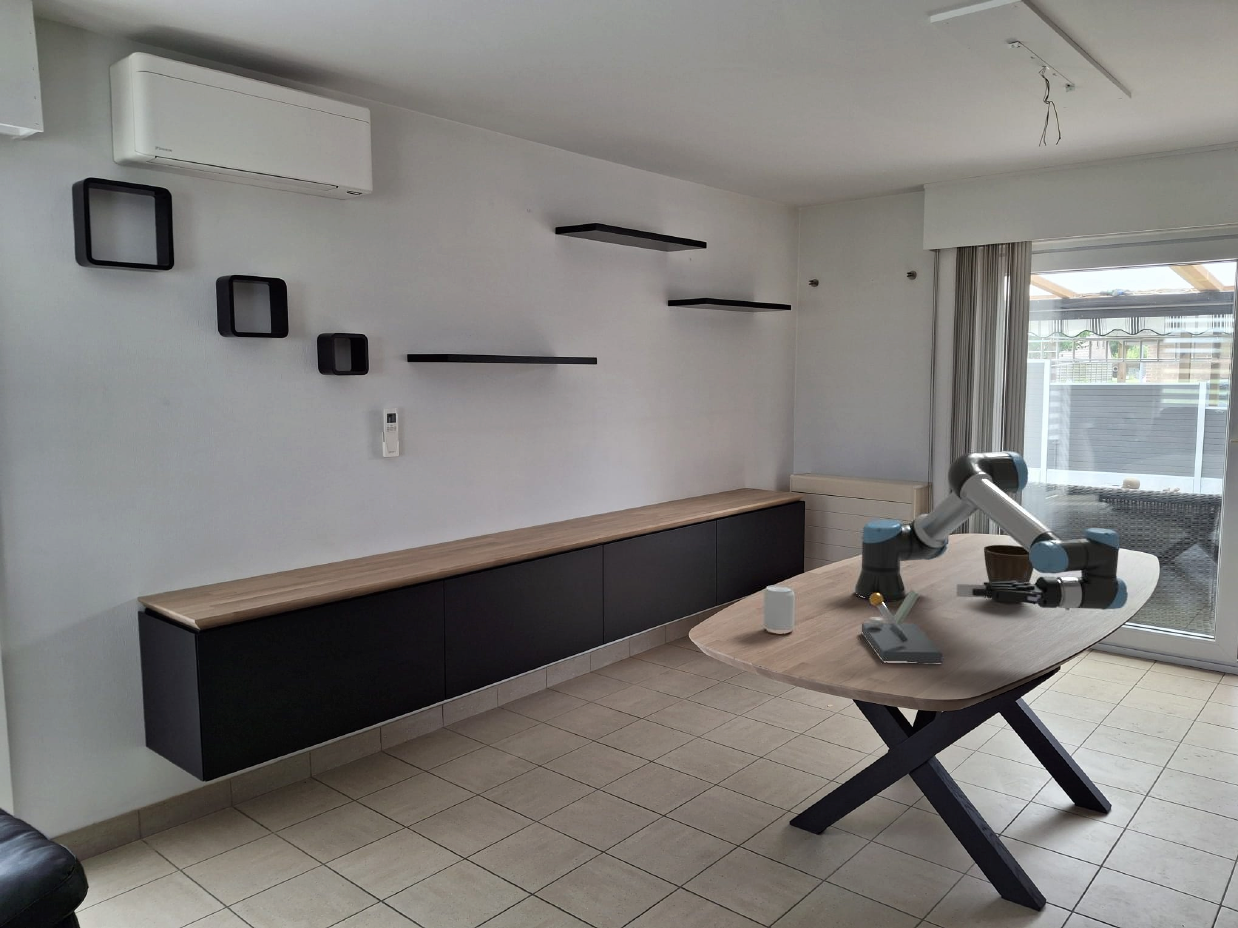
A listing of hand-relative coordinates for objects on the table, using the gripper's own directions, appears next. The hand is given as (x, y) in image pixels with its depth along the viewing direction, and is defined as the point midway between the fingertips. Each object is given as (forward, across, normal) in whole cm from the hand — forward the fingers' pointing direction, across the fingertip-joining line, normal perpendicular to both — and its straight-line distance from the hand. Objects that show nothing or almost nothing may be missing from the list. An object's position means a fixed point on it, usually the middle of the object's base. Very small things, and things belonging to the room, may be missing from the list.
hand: (957, 590), depth 214 cm
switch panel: (+11, +7, -17) cm, 22 cm away
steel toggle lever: (+12, 0, -14) cm, 18 cm away
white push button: (+16, +14, -15) cm, 26 cm away
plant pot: (-34, +55, -18) cm, 67 cm away
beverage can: (+41, +20, -18) cm, 49 cm away
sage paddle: (+12, +14, -14) cm, 23 cm away
